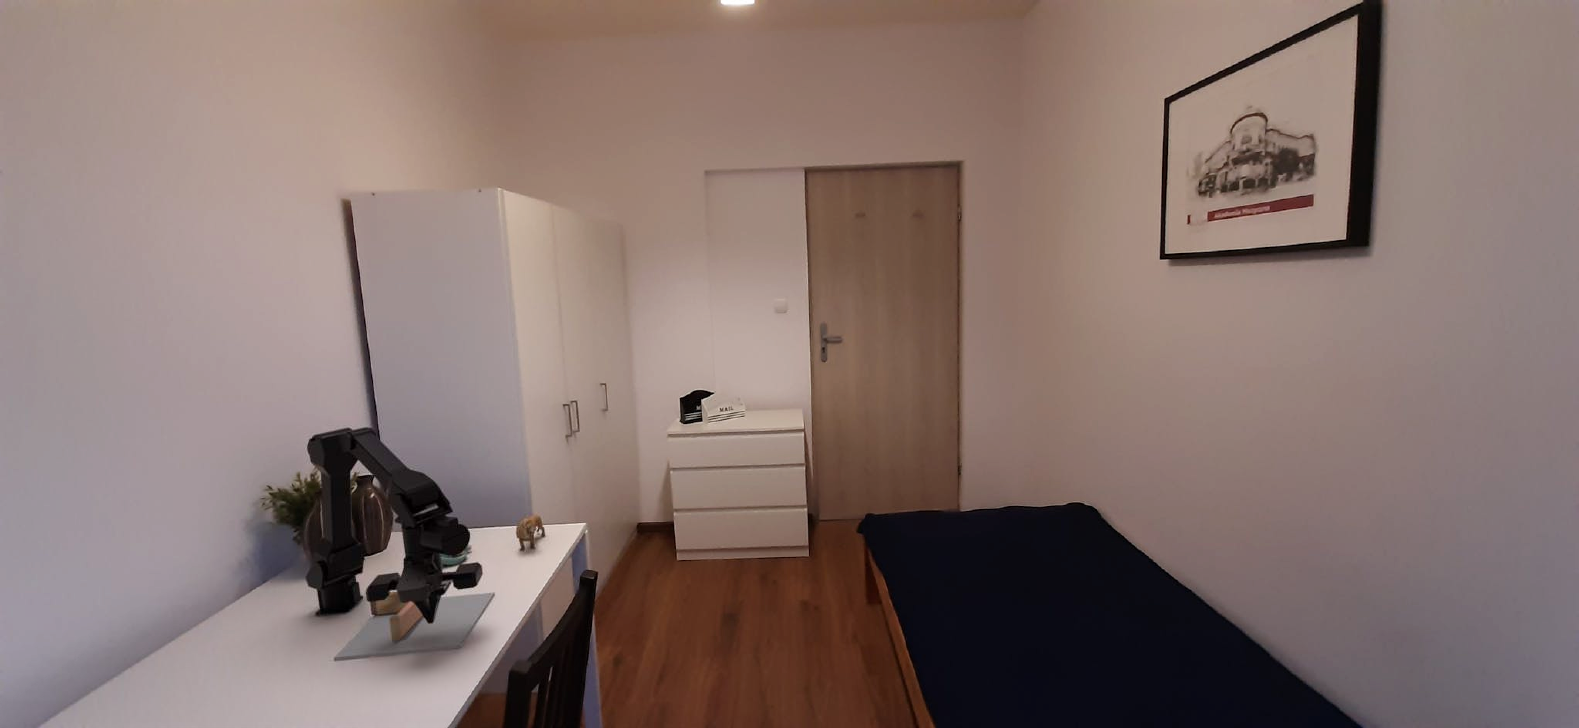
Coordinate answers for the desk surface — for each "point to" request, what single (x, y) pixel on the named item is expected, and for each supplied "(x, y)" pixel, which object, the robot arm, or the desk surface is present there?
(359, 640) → the card
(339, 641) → the desk surface
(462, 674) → the desk surface
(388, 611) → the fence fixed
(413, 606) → the fence panel
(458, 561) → the stuffed animal
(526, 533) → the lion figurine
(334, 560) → the robot arm
